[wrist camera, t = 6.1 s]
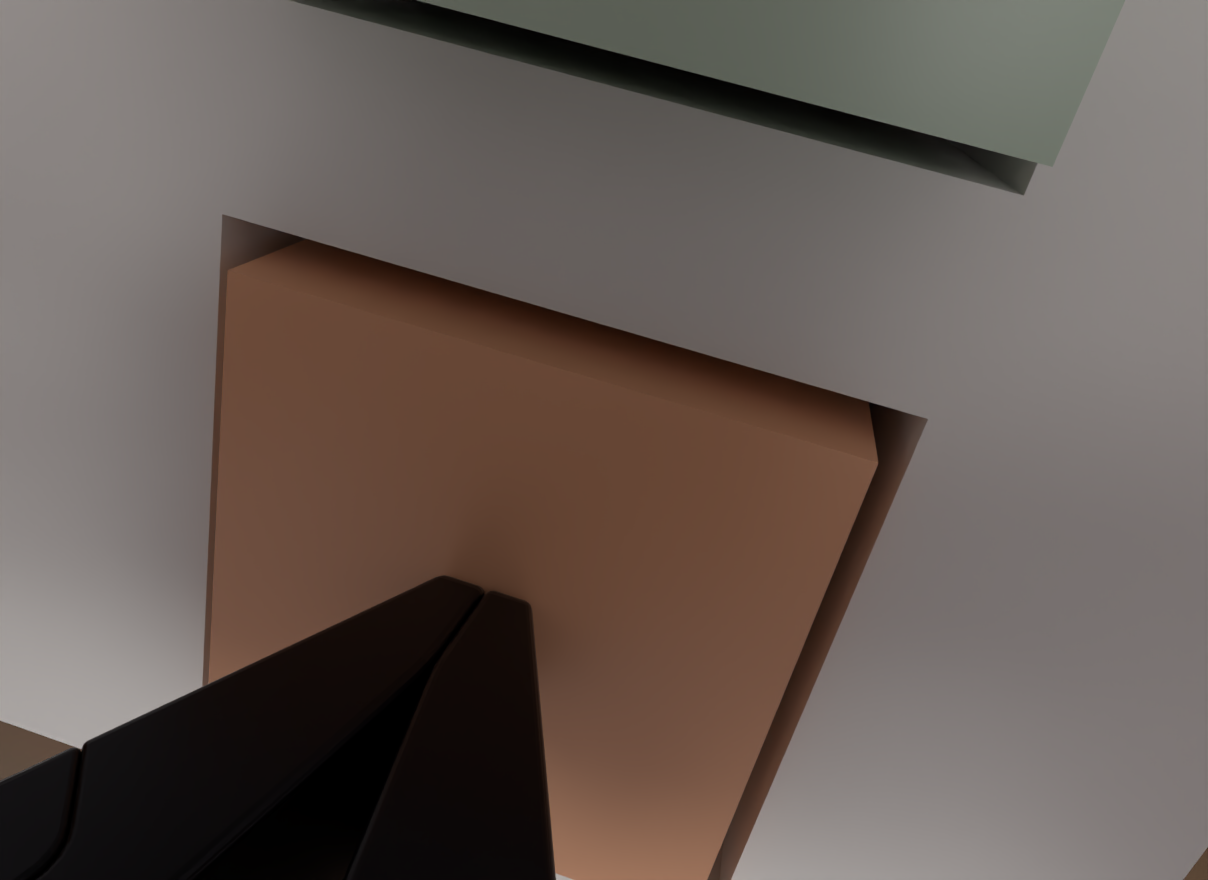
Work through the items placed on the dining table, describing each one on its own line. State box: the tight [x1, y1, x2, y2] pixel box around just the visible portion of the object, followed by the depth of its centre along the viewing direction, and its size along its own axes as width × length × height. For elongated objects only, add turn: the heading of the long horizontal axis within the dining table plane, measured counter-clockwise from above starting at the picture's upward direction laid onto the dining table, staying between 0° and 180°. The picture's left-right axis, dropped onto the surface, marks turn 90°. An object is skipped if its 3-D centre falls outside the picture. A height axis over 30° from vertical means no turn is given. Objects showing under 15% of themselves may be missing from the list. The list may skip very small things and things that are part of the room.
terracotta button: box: [208, 239, 879, 880], centre depth 10 cm, size 5×5×4 cm
